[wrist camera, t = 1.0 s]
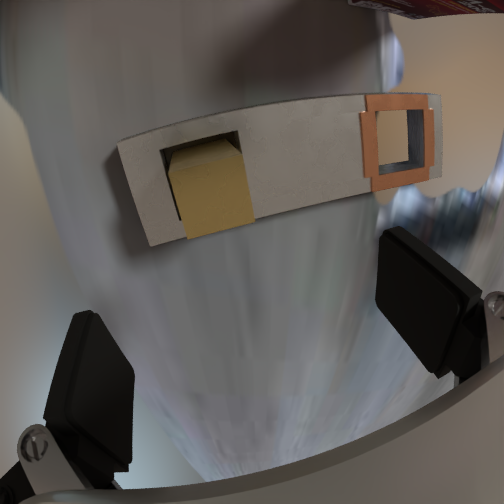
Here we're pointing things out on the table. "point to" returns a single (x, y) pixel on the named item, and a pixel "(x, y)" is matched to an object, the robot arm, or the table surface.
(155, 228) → the grey board
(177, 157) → the yellow rectangular block
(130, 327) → the table surface
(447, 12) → the supplement box
